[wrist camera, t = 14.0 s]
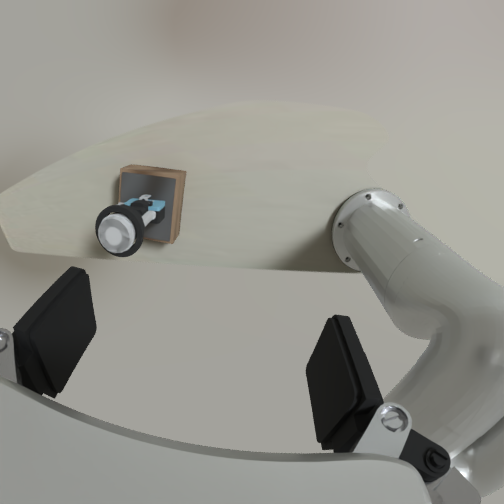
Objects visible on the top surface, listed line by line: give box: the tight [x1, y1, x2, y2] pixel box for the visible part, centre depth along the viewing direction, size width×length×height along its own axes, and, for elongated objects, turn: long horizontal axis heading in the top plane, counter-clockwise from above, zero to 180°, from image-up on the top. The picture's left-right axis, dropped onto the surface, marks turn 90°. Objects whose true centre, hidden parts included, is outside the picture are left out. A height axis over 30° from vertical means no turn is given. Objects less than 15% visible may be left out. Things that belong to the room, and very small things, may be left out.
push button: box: [95, 195, 165, 257], centre depth 29 cm, size 7×5×10 cm
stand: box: [119, 164, 186, 244], centre depth 35 cm, size 8×9×4 cm
